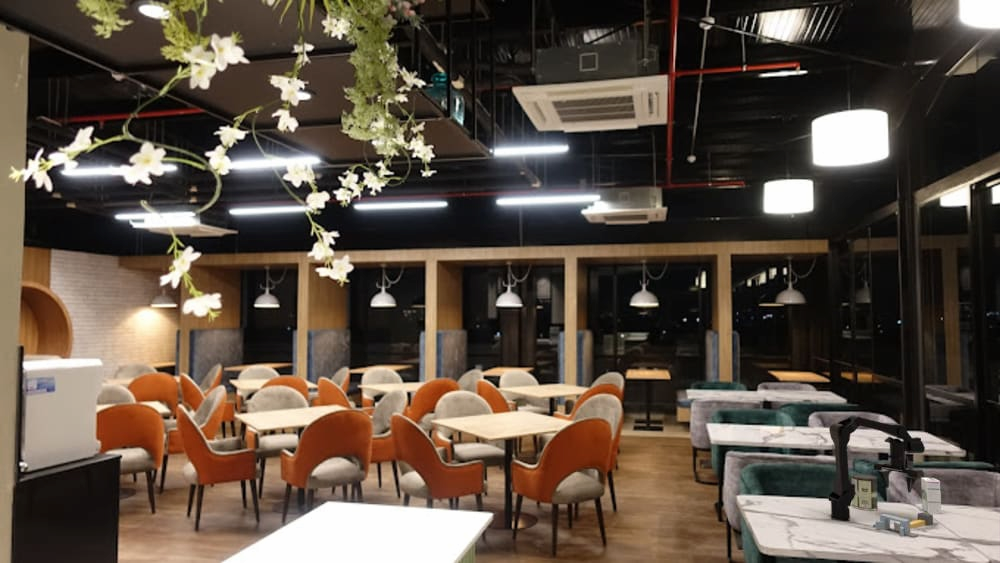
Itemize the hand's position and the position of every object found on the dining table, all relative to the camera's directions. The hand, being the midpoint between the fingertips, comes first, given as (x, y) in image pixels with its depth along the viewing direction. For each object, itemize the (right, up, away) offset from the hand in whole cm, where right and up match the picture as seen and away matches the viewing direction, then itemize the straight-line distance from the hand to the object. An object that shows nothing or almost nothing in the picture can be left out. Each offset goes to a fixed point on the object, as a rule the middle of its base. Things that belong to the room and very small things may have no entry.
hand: (898, 490), depth 283 cm
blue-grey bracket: (-14, -11, -19) cm, 26 cm away
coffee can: (-6, -13, +16) cm, 22 cm away
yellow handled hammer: (-1, -11, -12) cm, 17 cm away
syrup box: (+21, -13, +10) cm, 27 cm away
